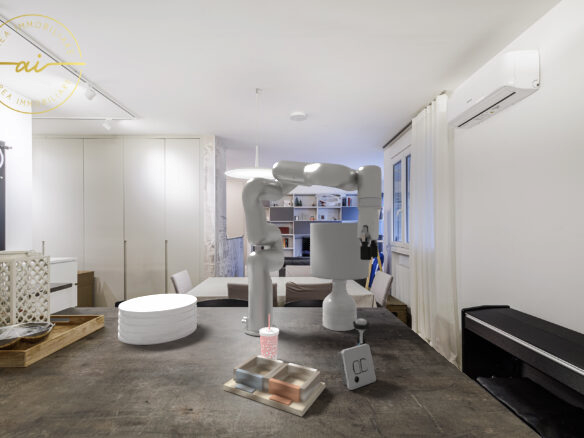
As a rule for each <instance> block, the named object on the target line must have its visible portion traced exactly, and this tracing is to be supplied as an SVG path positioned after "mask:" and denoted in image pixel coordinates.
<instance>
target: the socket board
mask: <svg viewBox="0 0 584 438" xmlns="http://www.w3.org/2000/svg"><path fill="white" fill-rule="evenodd" d="M232 370H233V372H232V373H233V374H232V375H233V377H232V378H231V379H229V380H228V381H227V382H225V383H224V384H222V389H223V391H226V392H229V393H233V394H235V395H238V396H240V397H241V396H242V397H243V398H247V399H249V400H252V401H256V402H258V403H260V404H261V403H262V404H263V405H267V406H269V407H273V408H276V409H279V410H282V411H284V412H287V413H290V414H293V415H295V416H299V417H303V416H304V415H305V414H306V412H307V411H308V410H309V409H310V407H311V406H312V405H313V403H314V402H315V401H316V400H317V398H318V397H319V396H320V395H321V394H322V393H323V391H324V390H325V389H326V383H325V382H322V381H321V379H322V373H321V371H318V369H316V368H313V367H309V366H304V365H301V364H297V363H294V362H293V363H292V362H289V363H287V362H284V360H280V359H278V358H277V359H273V358H269V357H265V356H261V354H259V355H256V354H254V355H252V356H251V357H249V358H247V359H246V360H244V361H242V362H241V363H239V364H238V365H236V366H235V367H233V369H232Z"/></svg>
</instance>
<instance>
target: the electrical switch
mask: <svg viewBox="0 0 584 438" xmlns="http://www.w3.org/2000/svg"><path fill="white" fill-rule="evenodd" d="M336 352H337V359H338V365H339V371H340V377H341V382H342V385H344V386H346V387H347V389H348V390H349V391H354V390H356V389H359V388H361V387H364V386H366V385H369V384H371V383H375V382H376V381H377V377H376V376H377V375H376V373H375V366H374V361H373V357H372V356H373V355H372V352H371V346H370V344H368V343H365V344H363V345H358V346H357V345H355V346H353V347H349V348H345V349H342V350H341V351H336Z"/></svg>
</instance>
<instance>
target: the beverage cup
mask: <svg viewBox="0 0 584 438" xmlns="http://www.w3.org/2000/svg"><path fill="white" fill-rule="evenodd" d="M259 332H260V333H259V334H260V336H259V337H260V338H259V339H260V353H261V354H260V355H261V356H265V357H269V358H273V359H277V360H278V343H279V335H280V329H279V328H278V327H276V328H275V327H270V314H269V327H265V328H262V329H260V330H259Z"/></svg>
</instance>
